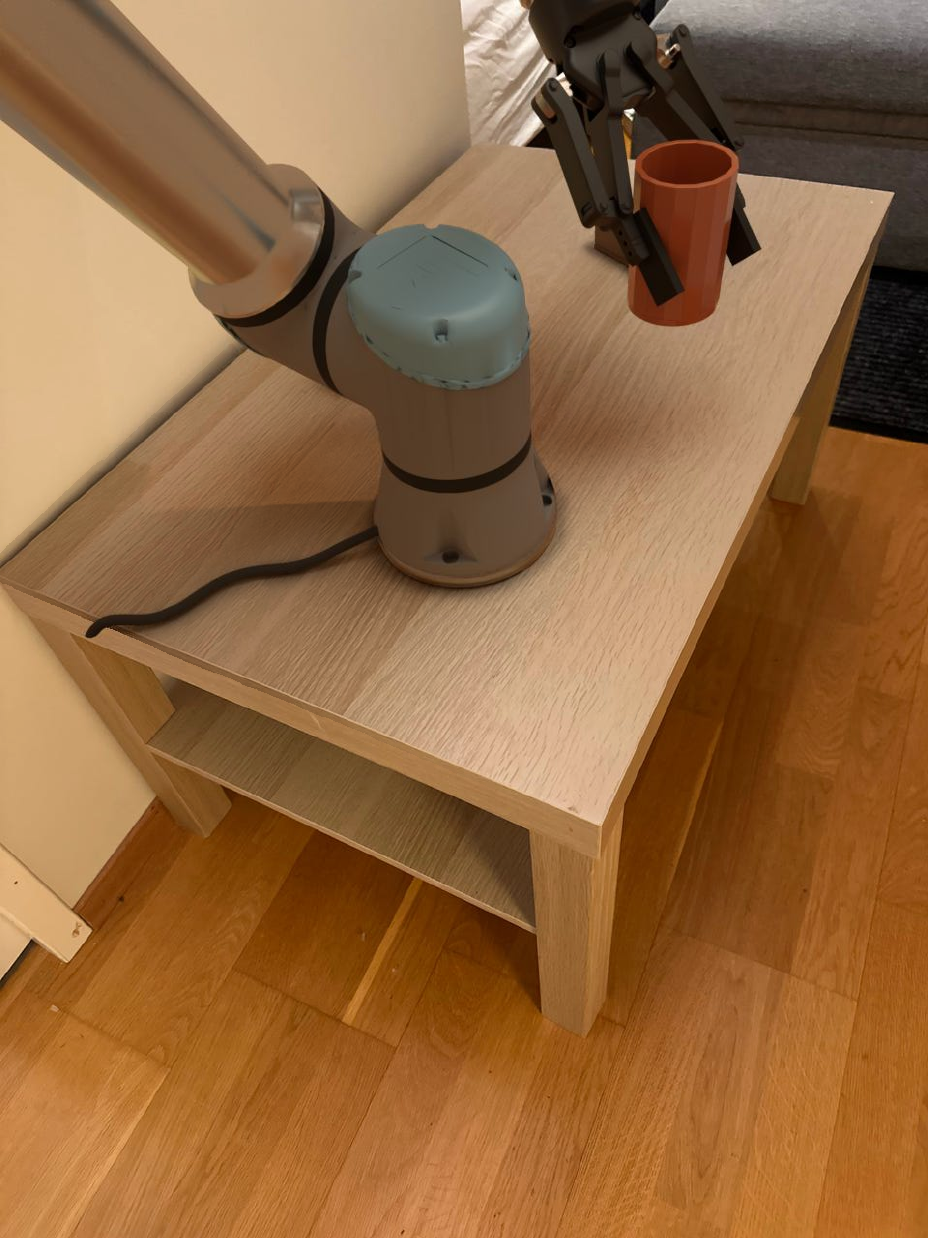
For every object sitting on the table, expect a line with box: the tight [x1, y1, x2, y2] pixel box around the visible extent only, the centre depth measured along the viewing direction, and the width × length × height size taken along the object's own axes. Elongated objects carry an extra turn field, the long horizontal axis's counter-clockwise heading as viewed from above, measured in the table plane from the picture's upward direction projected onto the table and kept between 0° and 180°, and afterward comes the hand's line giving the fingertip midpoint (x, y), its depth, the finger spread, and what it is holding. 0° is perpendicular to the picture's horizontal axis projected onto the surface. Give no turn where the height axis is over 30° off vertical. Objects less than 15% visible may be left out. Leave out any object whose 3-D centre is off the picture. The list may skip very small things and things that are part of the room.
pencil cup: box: [626, 140, 740, 328], centre depth 68 cm, size 7×7×11 cm
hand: (709, 277), depth 68 cm, fingers closed on pencil cup, 7 cm apart
